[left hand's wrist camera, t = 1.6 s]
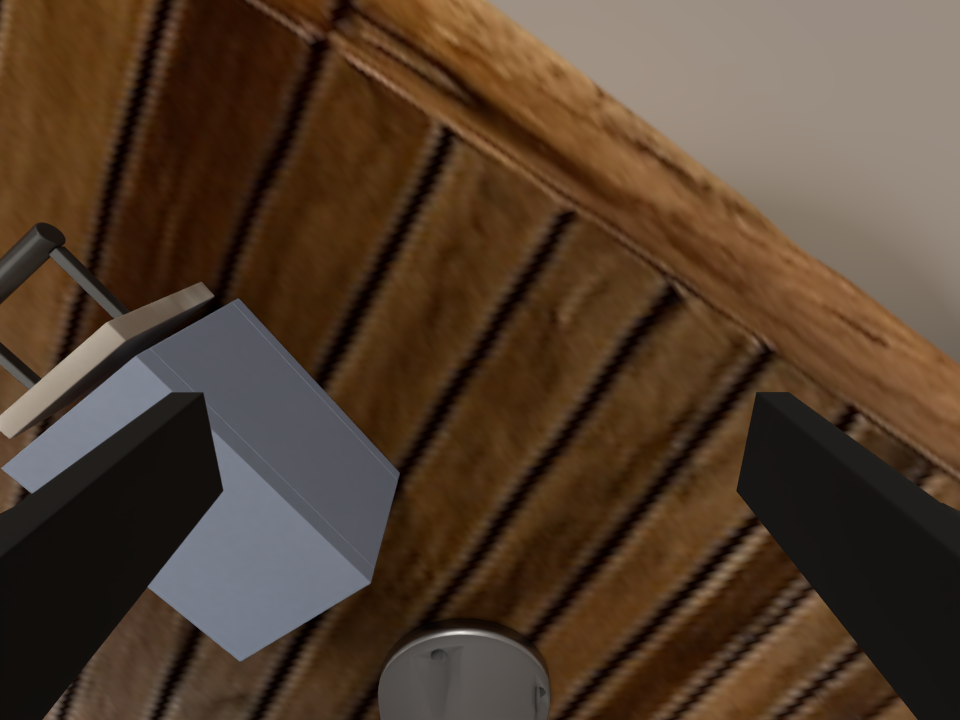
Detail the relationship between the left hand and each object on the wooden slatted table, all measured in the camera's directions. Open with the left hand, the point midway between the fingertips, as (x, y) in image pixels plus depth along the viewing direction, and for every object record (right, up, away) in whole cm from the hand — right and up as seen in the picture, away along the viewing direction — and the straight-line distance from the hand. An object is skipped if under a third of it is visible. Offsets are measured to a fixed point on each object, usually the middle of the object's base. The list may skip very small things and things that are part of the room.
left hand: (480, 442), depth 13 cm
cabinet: (-15, -3, +26) cm, 30 cm away
